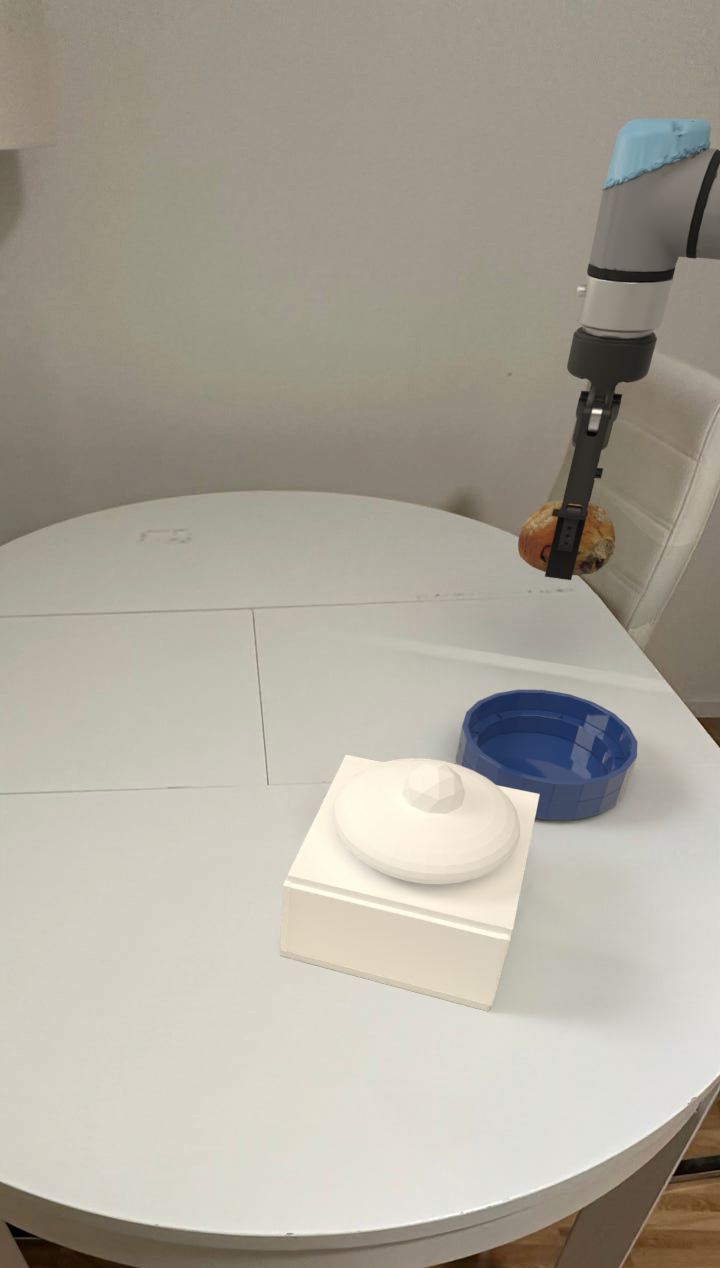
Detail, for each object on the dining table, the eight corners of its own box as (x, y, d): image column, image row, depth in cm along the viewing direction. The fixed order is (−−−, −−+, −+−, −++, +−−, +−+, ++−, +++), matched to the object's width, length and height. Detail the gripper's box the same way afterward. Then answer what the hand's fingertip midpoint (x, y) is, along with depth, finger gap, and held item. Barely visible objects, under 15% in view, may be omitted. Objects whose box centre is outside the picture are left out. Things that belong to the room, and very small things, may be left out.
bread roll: (594, 577, 105) (602, 503, 103) (626, 575, 95) (636, 493, 93) (507, 576, 105) (514, 502, 103) (530, 574, 95) (538, 492, 93)
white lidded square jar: (280, 956, 77) (285, 808, 66) (337, 828, 90) (349, 687, 79) (490, 1012, 72) (531, 863, 62) (519, 869, 85) (558, 725, 74)
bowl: (626, 744, 100) (639, 705, 97) (620, 839, 88) (635, 798, 85) (469, 716, 105) (476, 678, 101) (443, 803, 92) (450, 763, 89)
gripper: (585, 303, 95) (540, 515, 109) (563, 353, 79) (514, 595, 93) (661, 307, 93) (605, 523, 107) (655, 360, 77) (590, 606, 91)
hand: (563, 556), depth 100 cm, fingers closed on bread roll, 10 cm apart
